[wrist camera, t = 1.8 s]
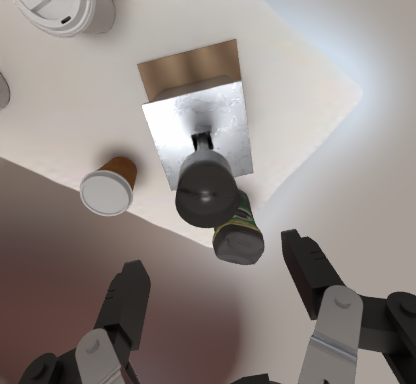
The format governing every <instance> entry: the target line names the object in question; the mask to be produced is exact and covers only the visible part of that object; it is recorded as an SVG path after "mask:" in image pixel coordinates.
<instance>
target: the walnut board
mask: <svg viewBox="0 0 416 384" xmlns="http://www.w3.org/2000/svg"><path fill="white" fill-rule="evenodd" d="M137 66H138V69H139V72H140V75H141V78H142V81H143V84H144V87H145V90H146V93H147V96H148V100H149V102H150V101H151V100H152V99H153V98H154V97H155V96H156V95H157V94H158V93H159V92H161V91H162V90H165V89H169V88H173V87H177V86H181V85H185V84H189V83H193V82H197V81H201V80H205V79H209V78H213V77H217V76H221V75H225V76H227V77H229V78H231V79H233V80H235V81H238V80H240V81H241V74H240V67H239V59H238V51H237V44H236V39H234V40H230V41H226V42H223V43H219V44H215V45H211V46H207V47H203V48H199V49H196V50H192V51H188V52H184V53H180V54H176V55H172V56H168V57H165V58H161V59H157V60H153V61H149V62H145V63H141V64H137Z"/></svg>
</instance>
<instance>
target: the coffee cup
mask: <svg viewBox="0 0 416 384" xmlns="http://www.w3.org/2000/svg"><path fill="white" fill-rule="evenodd" d="M13 1H14V2H15V4H16V5H17V7H18V8H19V10H20V11H21V12H22V13H23V15H24V16H25V17H26V18H27V19H28V20H29V21H30V22H31V23H33V24H34V25H35V26H36V27H38V28H39V29H41V30H42V31H44V32H46V33H48V34H50V35H53V36H56V37H61V38H70V37H74V36H77V35H79V34H81V33H104V32H106V31H108V30H109V29H110V28H111V27H112V25H113V23H114V20H115V8H114V4H113V2H112V0H13Z"/></svg>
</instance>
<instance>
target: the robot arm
mask: <svg viewBox="0 0 416 384" xmlns="http://www.w3.org/2000/svg"><path fill="white" fill-rule="evenodd" d="M8 101H9V89H8V86H7V83H6V81H5V79H4V78H3V77H2V75H1V74H0V110H1V109H3V108H4V107H5V106H6V105H7V103H8ZM281 240H282V252H283V257H284V260H285V263H286V265H287V267H288V270H289V272H290V274H291V276H292V279H293V281H294V283H295V285H296V288H297V290H298V292H299V294H300V296H301V299H302V301H303V303H304V305H305V308H306V310H307V312H308V314H309V317H310V319H311V320H317V322H316V326H315V330H314V333H313V335H312V336H311V338H310V341H309V344H308V348H307V351H306V355H305V358H304V362H303V366H302V369H301V373H300V377H299V381H298V384H354V382H355V374H356V366H357V350H358V348H360V349H366V350H371V351H377V352H382V354H383V356H384V357H385V359H386V361H387V362H388V364H389V366H390V368H391V370H392V371H393V373H394V375H395V376H396V378H397V380H398V382H399V383H400V384H416V296H415V295H413V294H410V293H406V292H394V293H391V294H390V295H389V296H388V298H387V299H382V298H374V297H366V296H362V295H359V294H357V293H356V292H355V291H353V290H352V289H350V288H348V287H347V286H346V285H345V284H344V283H343V281H342V280H341V278H340V277H339V275H338V274H337V272H336V271H335V269H334V268H333V266H332V265H331V264H330V262H329V260H328V259H327V258H326V256H325V254H324V253H323V252H322V250H321V248H320V247H319V245H318V244H317V243H316V242H315V241H314V240H312V239H311V238H309V237H303V238H301V237H300V235H299V233H298V232H297V230H296V229H292V230H287V231H282V232H281ZM150 286H151V283H150V278H149V276H148V274H147V272H146V270H145V268H144V266H143V264H142V263H141V261H140V260H135V261H130V262H126V263H125V264H124V267H123V269H122V272H121V273H119V274H117V275H116V276H115V278H114V279H113V280H112V282H111V284H110V286H109V289H108V293H107V295H106V297H105V300H104V303H103V305H102V308H101V310H100V313H99V316H98V318H97V321H96V324H95V326H94V329H93V330H92V331H91V332H89V333H88V334H86V335H85V336H84V337H83V338H82V340H81V341H80V342H79V344H78V346H77V347H76V348H75V349H73V350H71V351H69V352H67V353H65V354H63V355H61V356H59V357H56V356H55V355H54V354H53V353H46V354H43V355H41V356H40V357H38V358H37V359H35V360H34V361H33V362H32V363H31V364H30V365H29V366H28V368H27V369H26V370H25V372H24V374H23V376H22V378H21V379H20V381H19V383H18V384H141V383H140V381H139V379H138V377H137V375H136V373H135V371H134V369H133V366H132V364H131V362H130V360H129V355H130V351H133V350H138V349H139V344H140V339H141V334H142V329H143V324H144V318H145V314H146V308H147V303H148V298H149V293H150ZM231 384H280V383H277V382H273V381H269V377H268V374H261V375H254V376H248V377H243V378H241V379H239V380H237V381H235V382H233V383H231Z"/></svg>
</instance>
